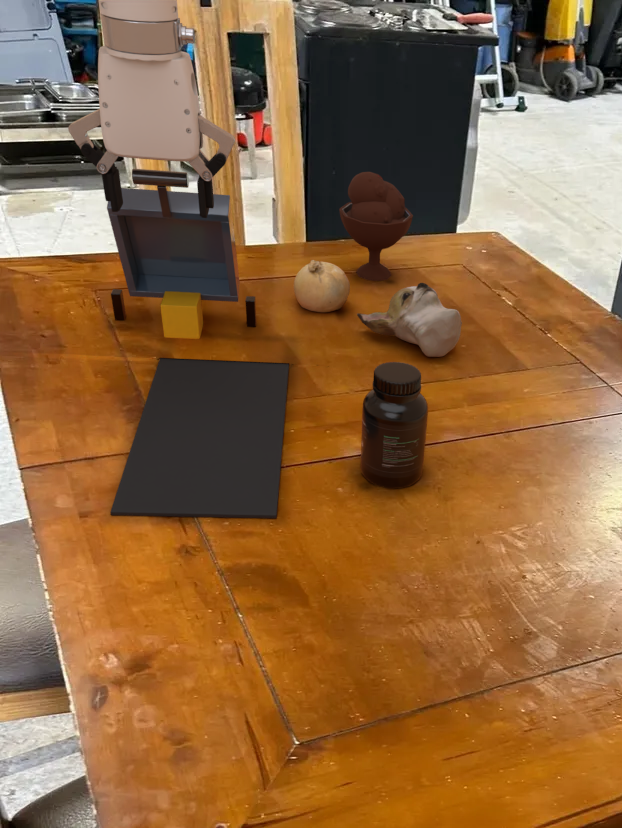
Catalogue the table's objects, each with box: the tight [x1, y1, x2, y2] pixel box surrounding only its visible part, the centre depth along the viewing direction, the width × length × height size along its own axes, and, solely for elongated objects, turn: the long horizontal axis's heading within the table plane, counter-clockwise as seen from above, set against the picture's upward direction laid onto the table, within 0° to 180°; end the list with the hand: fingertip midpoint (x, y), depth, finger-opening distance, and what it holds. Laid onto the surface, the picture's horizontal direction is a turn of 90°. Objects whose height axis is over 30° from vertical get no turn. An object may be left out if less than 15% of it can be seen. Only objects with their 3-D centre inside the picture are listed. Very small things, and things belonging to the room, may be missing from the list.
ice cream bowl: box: [339, 171, 414, 282], centre depth 135 cm, size 11×11×15 cm
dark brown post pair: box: [110, 288, 258, 328], centre depth 119 cm, size 2×18×4 cm, turn 96°
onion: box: [293, 259, 351, 313], centre depth 126 cm, size 8×8×7 cm
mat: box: [109, 357, 290, 519], centre depth 103 cm, size 16×42×1 cm, turn 6°
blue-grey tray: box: [106, 168, 241, 303], centre depth 109 cm, size 20×14×5 cm
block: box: [159, 291, 204, 340], centre depth 116 cm, size 4×4×4 cm
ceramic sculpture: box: [356, 282, 463, 358], centre depth 120 cm, size 11×9×15 cm
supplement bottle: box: [360, 361, 429, 489], centre depth 93 cm, size 7×7×12 cm
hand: (161, 211), depth 101 cm, fingers open, 9 cm apart
